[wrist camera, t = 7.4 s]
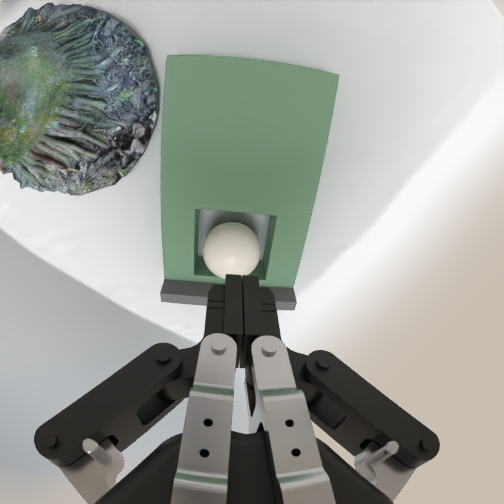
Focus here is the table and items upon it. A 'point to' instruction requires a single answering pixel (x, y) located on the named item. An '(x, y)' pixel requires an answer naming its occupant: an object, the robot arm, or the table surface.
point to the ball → (231, 250)
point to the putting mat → (240, 162)
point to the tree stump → (73, 99)
